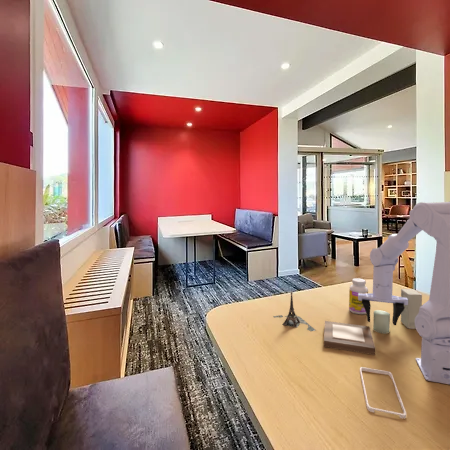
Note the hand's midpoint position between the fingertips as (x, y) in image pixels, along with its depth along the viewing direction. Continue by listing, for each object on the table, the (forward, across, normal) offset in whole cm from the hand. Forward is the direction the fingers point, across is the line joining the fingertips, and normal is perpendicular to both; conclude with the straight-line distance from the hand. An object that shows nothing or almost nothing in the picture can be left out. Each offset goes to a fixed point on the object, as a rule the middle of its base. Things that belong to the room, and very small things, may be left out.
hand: (381, 322), depth 94 cm
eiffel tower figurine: (+3, +29, +4) cm, 29 cm away
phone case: (+3, +5, +33) cm, 34 cm away
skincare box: (+3, -10, -7) cm, 12 cm away
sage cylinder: (+3, 0, 0) cm, 3 cm away
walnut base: (+3, +11, +10) cm, 15 cm away
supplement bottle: (+3, +6, -14) cm, 15 cm away
